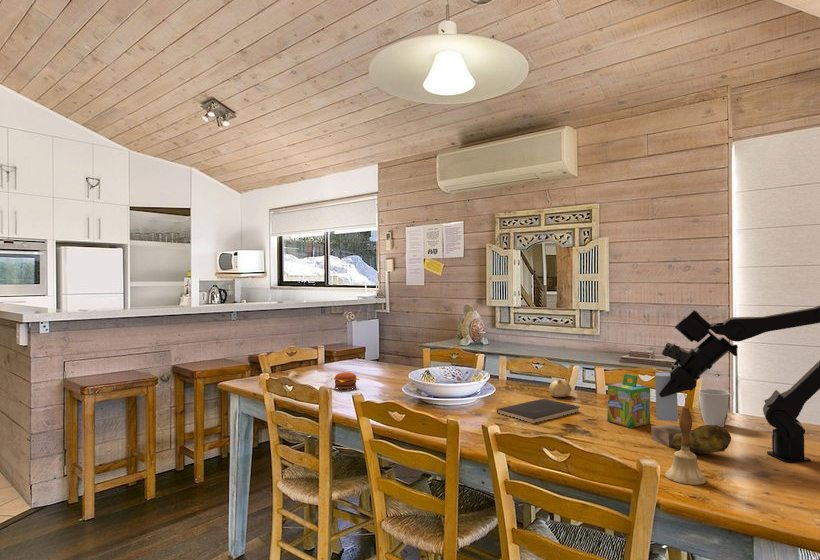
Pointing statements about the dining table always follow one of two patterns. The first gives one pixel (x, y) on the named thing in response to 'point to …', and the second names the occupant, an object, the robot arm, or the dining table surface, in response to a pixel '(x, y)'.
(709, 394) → the cup
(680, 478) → the hand bell
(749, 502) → the dining table surface
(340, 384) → the hamburger
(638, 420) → the chalk box
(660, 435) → the walnut box
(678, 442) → the potato
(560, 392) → the onion
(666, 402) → the slate block
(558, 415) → the hardcover book
